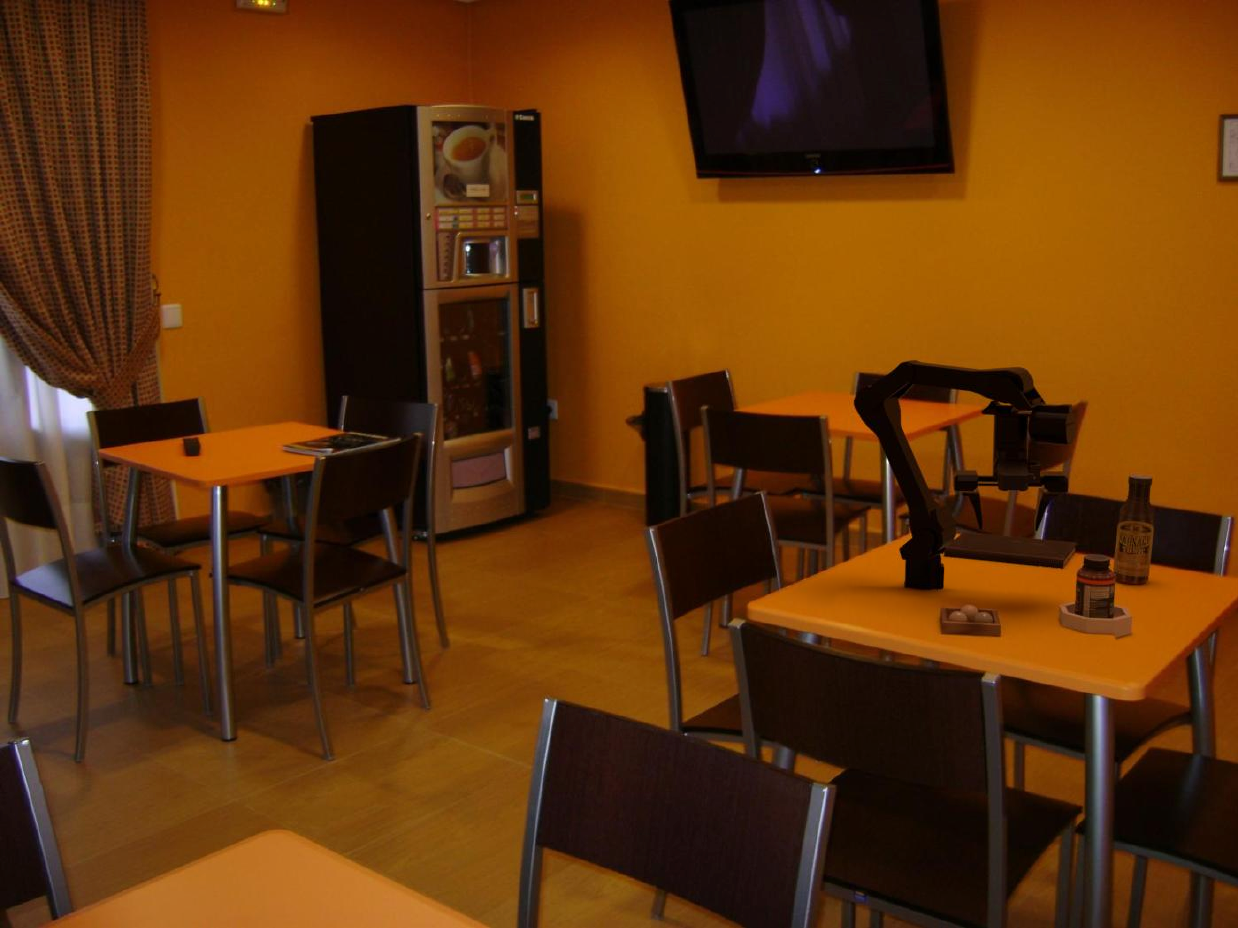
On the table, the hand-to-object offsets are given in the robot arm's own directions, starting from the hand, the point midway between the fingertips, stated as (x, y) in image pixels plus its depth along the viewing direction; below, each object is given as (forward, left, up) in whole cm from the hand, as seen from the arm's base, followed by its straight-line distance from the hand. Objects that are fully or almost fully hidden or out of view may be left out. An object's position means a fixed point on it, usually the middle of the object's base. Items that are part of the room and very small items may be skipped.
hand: (1008, 530), depth 221 cm
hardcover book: (+4, +36, -14) cm, 39 cm away
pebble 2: (-7, -16, -12) cm, 21 cm away
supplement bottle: (+13, -13, -13) cm, 22 cm away
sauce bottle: (+24, +18, -13) cm, 33 cm away
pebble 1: (-9, -20, -12) cm, 25 cm away
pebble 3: (-5, -20, -12) cm, 24 cm away
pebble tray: (-7, -18, -13) cm, 23 cm away
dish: (+13, -13, -13) cm, 22 cm away
